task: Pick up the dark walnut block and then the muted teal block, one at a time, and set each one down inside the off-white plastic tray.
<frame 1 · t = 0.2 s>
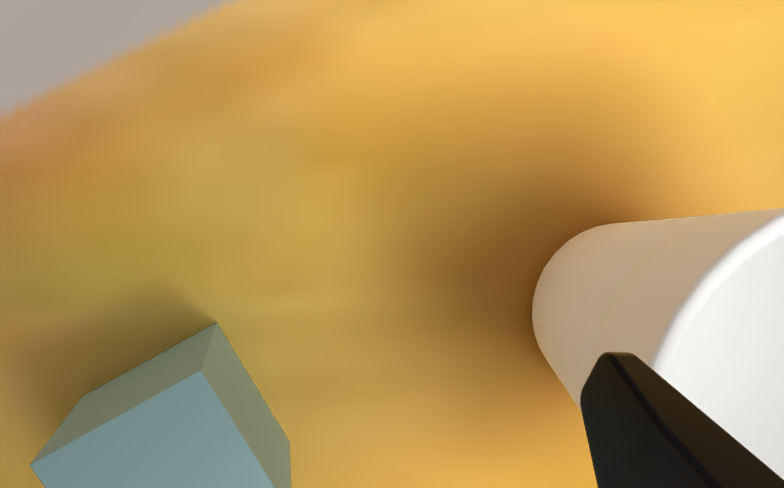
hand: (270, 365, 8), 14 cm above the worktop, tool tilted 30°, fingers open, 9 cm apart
cup: (603, 303, 25), on the worktop
teal block: (189, 418, 23), on the worktop
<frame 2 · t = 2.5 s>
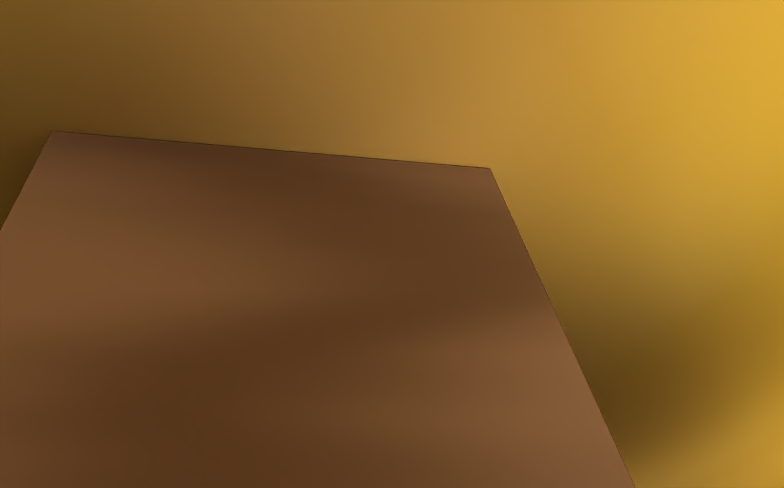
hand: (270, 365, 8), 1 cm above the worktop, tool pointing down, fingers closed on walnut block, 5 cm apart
walnut block: (270, 307, 9), on the worktop, touching gripper
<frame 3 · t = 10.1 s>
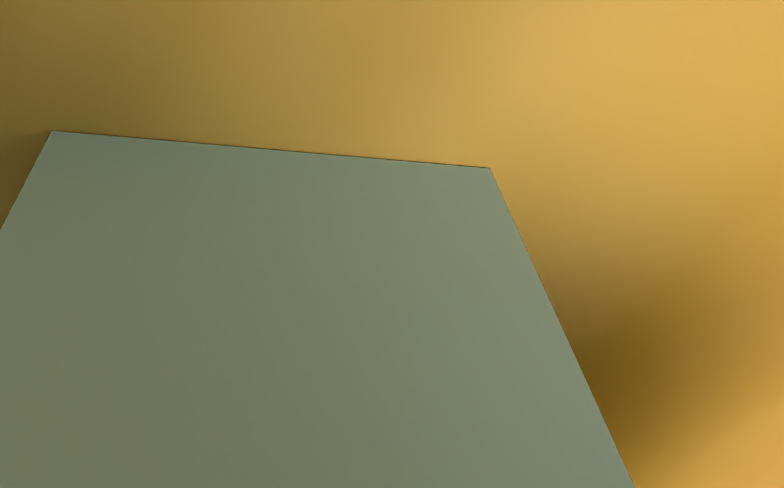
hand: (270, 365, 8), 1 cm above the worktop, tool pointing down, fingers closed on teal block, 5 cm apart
teal block: (270, 307, 9), on the worktop, touching gripper
when the fingers open (4 cm above the worktop, at t = 13.8 s): teal block drops 2 cm, resting on tray.
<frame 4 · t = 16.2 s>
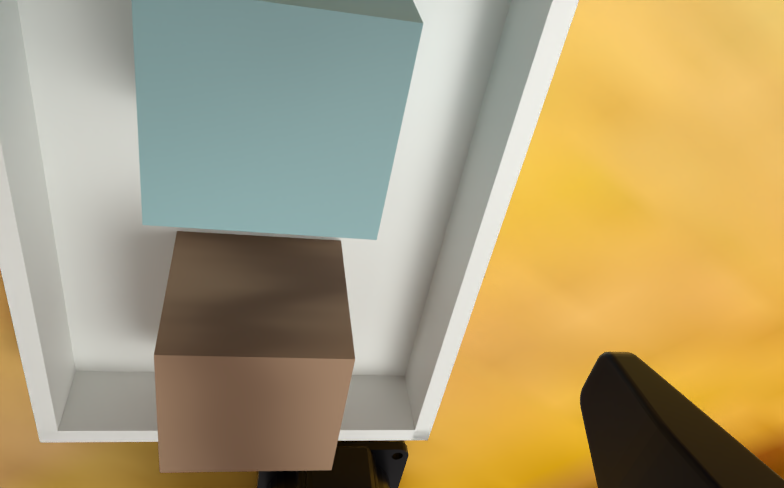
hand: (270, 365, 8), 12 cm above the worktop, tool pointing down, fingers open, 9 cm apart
tray: (263, 164, 20), on the worktop
teal block: (273, 33, 17), point 1 cm above the worktop, touching tray
walnut block: (256, 295, 22), point 1 cm above the worktop, touching tray
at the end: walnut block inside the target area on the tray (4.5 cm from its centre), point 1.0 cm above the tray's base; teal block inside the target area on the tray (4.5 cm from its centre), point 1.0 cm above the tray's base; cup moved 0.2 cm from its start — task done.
